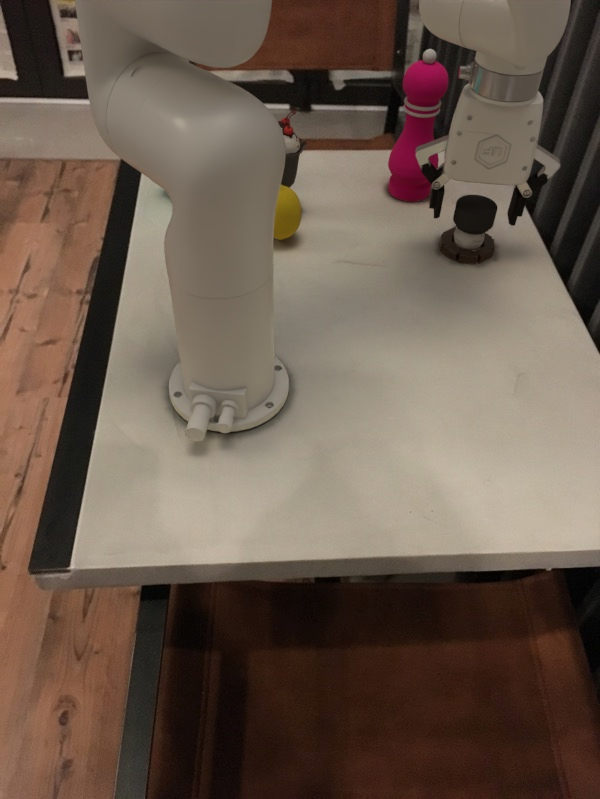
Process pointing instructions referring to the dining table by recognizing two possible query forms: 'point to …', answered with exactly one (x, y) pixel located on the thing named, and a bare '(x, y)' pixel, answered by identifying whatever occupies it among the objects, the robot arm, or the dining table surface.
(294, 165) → the sundae
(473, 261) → the tee ring
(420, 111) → the pepper mill
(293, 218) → the lemon
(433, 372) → the dining table surface
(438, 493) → the dining table surface
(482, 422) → the dining table surface
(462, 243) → the golf ball
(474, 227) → the puck
